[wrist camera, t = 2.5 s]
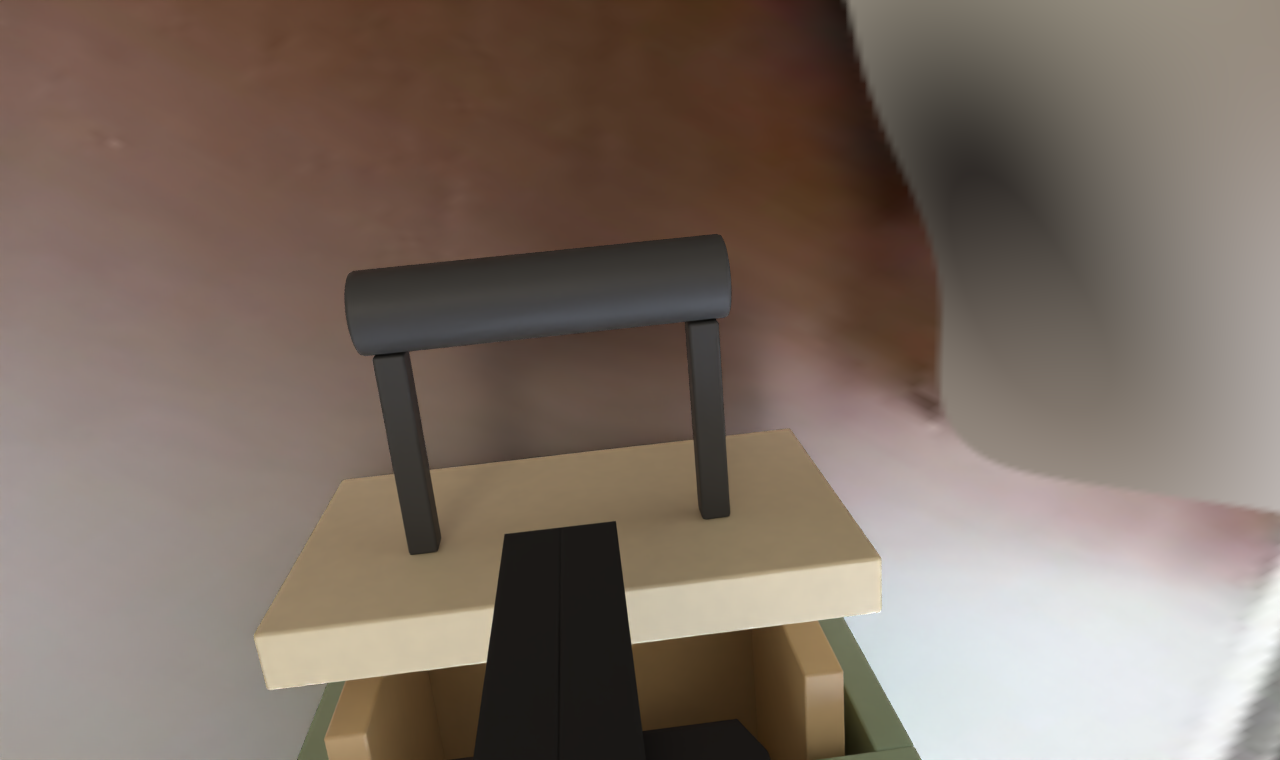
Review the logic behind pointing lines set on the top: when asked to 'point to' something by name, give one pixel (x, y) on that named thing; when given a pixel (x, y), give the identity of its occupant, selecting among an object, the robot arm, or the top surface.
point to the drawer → (569, 496)
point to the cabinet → (871, 756)
